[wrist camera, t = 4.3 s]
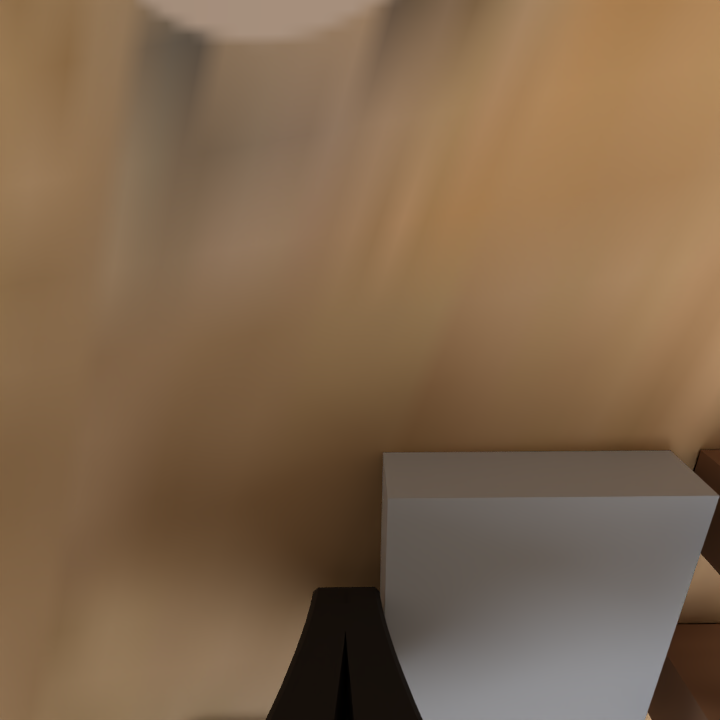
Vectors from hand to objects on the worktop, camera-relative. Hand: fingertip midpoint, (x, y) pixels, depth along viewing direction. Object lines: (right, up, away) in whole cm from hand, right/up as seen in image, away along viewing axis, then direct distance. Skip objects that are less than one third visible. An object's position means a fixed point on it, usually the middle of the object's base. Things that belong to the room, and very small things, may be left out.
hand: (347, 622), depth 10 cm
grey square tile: (+4, +1, +2) cm, 4 cm away
